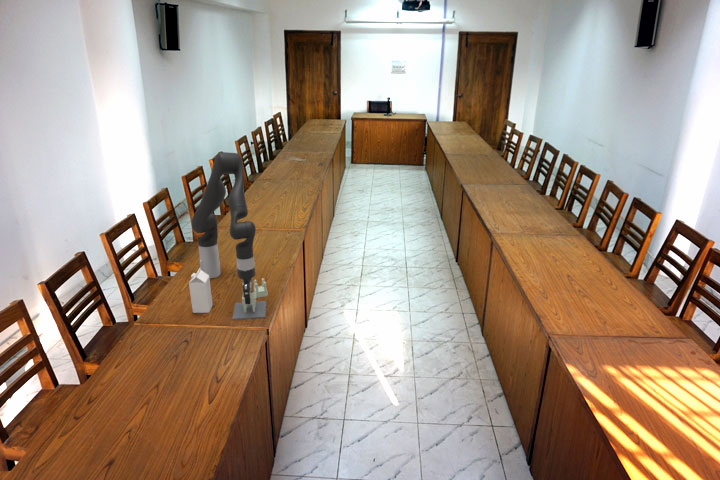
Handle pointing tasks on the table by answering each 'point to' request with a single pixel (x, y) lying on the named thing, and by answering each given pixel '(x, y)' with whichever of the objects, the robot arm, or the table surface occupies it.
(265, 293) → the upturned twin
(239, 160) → the robot arm
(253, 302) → the cube with twin tabs
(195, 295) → the milk carton
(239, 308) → the mat
